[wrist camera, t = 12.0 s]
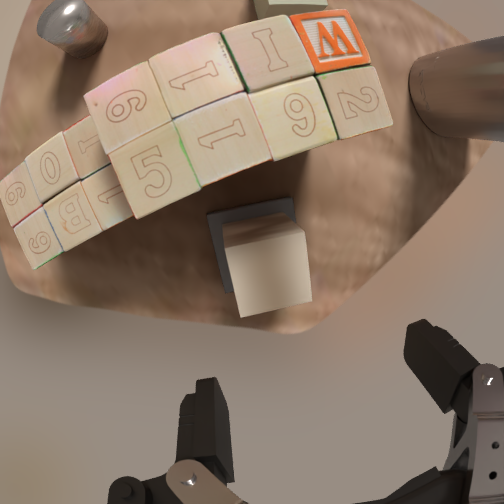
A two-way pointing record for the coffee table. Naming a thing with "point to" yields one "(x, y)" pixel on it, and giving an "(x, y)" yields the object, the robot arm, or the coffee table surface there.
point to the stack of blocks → (194, 125)
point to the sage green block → (287, 7)
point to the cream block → (267, 263)
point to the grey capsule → (72, 27)
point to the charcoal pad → (237, 215)
